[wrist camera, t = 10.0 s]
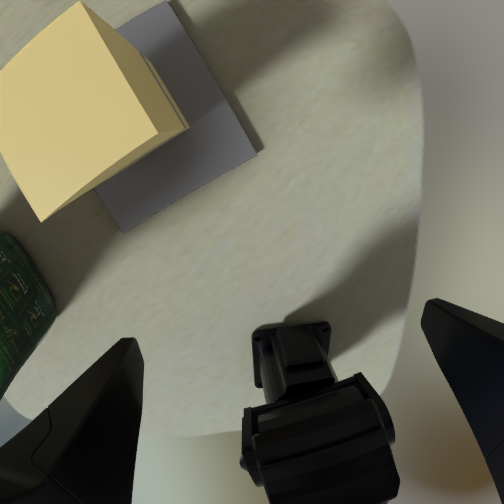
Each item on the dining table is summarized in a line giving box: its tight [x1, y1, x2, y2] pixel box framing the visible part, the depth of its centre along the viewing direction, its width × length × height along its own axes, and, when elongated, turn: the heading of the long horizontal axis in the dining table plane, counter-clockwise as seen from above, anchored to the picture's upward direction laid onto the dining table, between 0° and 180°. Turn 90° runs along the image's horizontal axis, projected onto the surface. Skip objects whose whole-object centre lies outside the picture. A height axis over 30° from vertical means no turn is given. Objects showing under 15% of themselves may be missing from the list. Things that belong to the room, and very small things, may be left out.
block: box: [0, 1, 190, 222], centre depth 12 cm, size 5×4×11 cm
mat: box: [94, 0, 257, 234], centre depth 17 cm, size 12×10×1 cm
